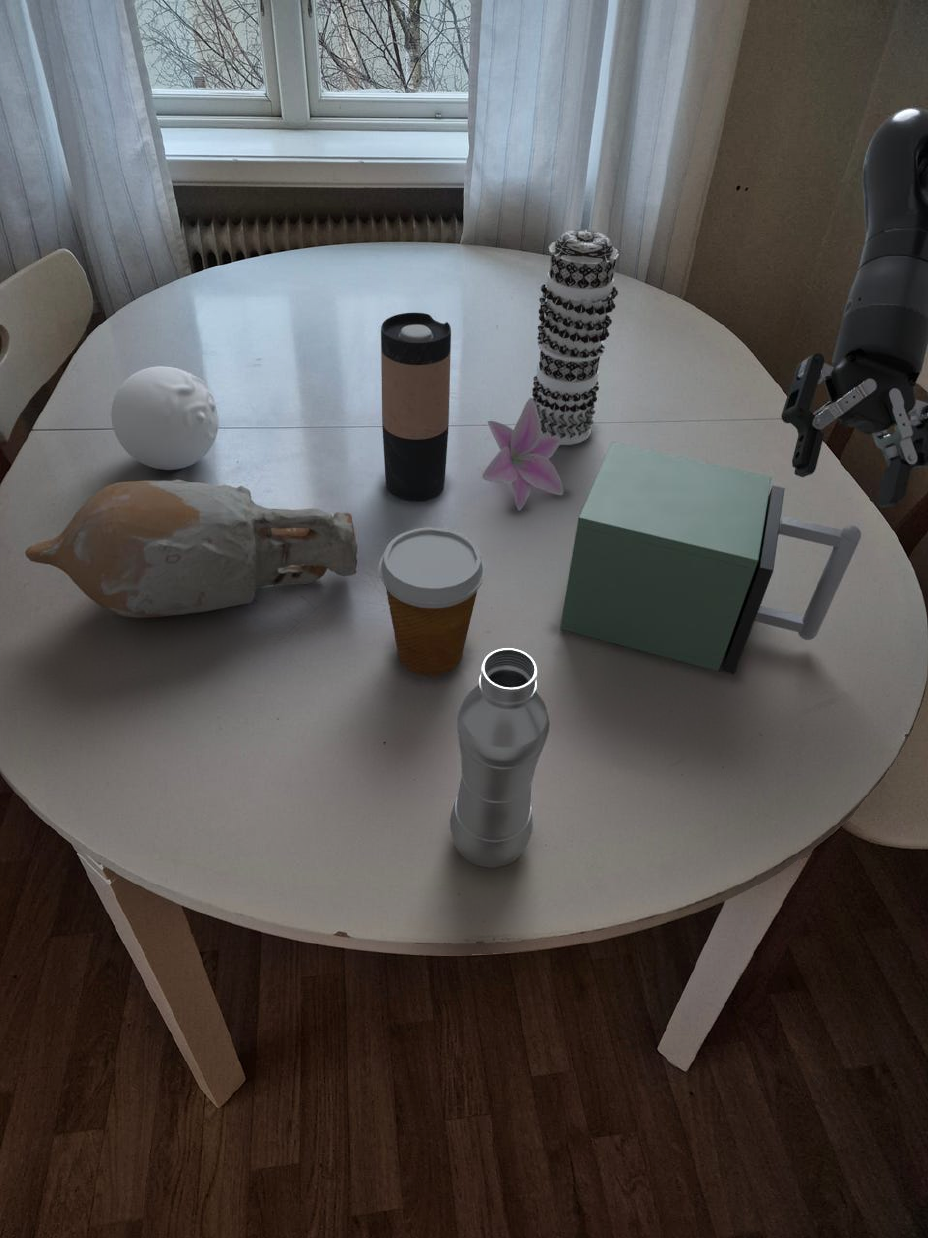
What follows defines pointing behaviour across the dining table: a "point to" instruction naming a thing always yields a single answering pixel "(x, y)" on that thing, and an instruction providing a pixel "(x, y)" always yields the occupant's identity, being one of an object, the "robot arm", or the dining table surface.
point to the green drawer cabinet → (665, 554)
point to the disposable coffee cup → (431, 595)
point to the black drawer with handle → (751, 608)
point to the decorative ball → (165, 417)
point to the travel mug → (415, 404)
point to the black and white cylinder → (573, 333)
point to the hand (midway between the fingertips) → (845, 490)
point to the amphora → (192, 547)
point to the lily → (524, 456)
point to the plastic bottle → (498, 760)
